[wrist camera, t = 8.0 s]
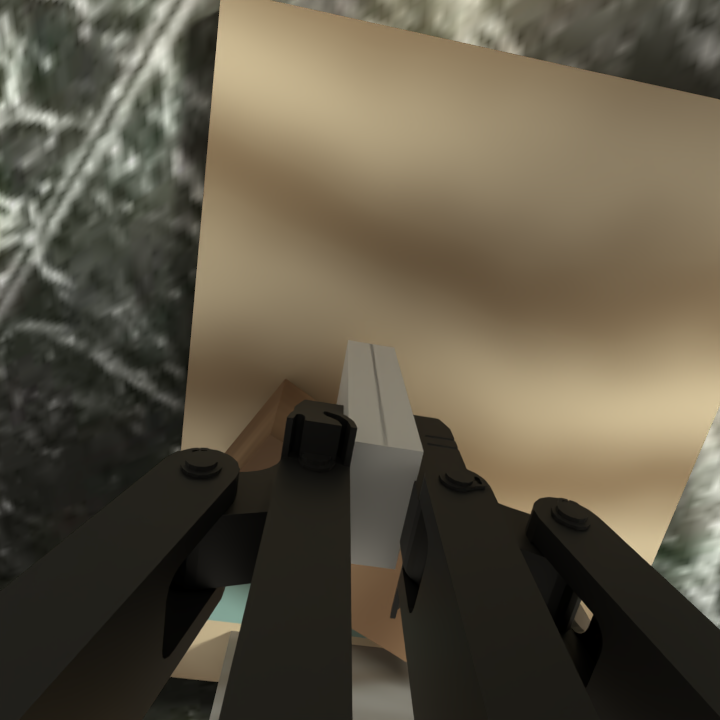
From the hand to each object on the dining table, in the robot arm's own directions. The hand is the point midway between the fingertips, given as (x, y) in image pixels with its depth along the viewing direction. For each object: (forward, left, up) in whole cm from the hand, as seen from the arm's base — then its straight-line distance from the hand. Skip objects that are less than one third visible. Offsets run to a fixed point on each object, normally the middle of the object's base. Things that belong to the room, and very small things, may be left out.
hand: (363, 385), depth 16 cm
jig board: (+2, +3, -2) cm, 5 cm away
